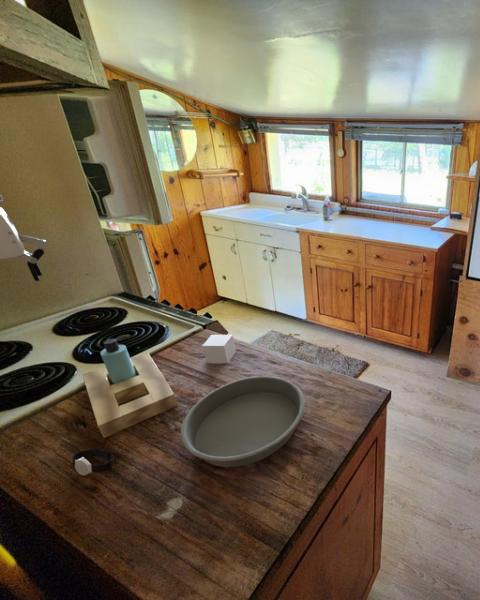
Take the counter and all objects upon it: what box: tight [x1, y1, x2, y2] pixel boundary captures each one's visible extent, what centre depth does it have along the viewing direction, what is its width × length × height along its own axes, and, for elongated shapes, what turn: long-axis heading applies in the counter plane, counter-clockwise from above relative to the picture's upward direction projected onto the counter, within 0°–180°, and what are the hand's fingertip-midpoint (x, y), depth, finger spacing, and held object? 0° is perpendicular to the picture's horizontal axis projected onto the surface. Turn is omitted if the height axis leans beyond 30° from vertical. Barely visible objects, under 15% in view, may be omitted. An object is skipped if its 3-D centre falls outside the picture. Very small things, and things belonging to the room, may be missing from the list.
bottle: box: [99, 338, 137, 384], centre depth 80 cm, size 5×5×14 cm
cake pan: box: [180, 375, 306, 468], centre depth 72 cm, size 25×25×4 cm
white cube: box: [201, 334, 237, 364], centre depth 95 cm, size 6×6×6 cm
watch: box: [71, 448, 115, 476], centre depth 62 cm, size 8×5×4 cm, turn 77°
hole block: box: [82, 352, 179, 439], centre depth 80 cm, size 14×24×4 cm, turn 47°
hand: (5, 284), depth 69 cm, fingers open, 9 cm apart
